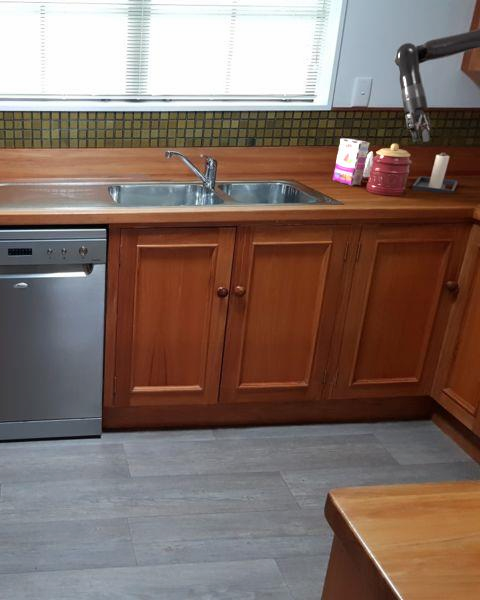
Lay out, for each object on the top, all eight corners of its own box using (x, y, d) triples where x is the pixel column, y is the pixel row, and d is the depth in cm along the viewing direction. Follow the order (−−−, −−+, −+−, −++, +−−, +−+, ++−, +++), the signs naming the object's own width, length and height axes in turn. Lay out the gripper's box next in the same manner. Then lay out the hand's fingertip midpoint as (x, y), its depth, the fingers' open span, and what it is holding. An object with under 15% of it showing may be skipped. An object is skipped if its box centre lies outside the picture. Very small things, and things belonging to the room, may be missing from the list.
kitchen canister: (368, 186, 233) (378, 139, 226) (405, 191, 227) (416, 143, 220) (363, 193, 222) (373, 143, 216) (402, 198, 216) (414, 147, 210)
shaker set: (361, 180, 242) (367, 152, 238) (353, 178, 246) (359, 151, 242) (385, 179, 246) (391, 152, 242) (377, 177, 250) (383, 150, 245)
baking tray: (456, 185, 239) (458, 181, 239) (452, 195, 223) (453, 190, 222) (418, 180, 246) (419, 176, 245) (411, 190, 229) (412, 185, 229)
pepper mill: (441, 186, 235) (450, 152, 230) (440, 188, 231) (449, 153, 226) (429, 185, 237) (437, 151, 232) (427, 187, 234) (436, 152, 228)
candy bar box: (361, 185, 234) (371, 142, 228) (351, 186, 233) (360, 142, 226) (342, 179, 244) (350, 137, 237) (331, 180, 242) (339, 138, 236)
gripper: (415, 93, 219) (423, 137, 219) (432, 96, 228) (440, 138, 227) (394, 101, 225) (402, 144, 225) (412, 103, 234) (420, 144, 233)
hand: (421, 141), depth 226 cm, fingers open, 8 cm apart
